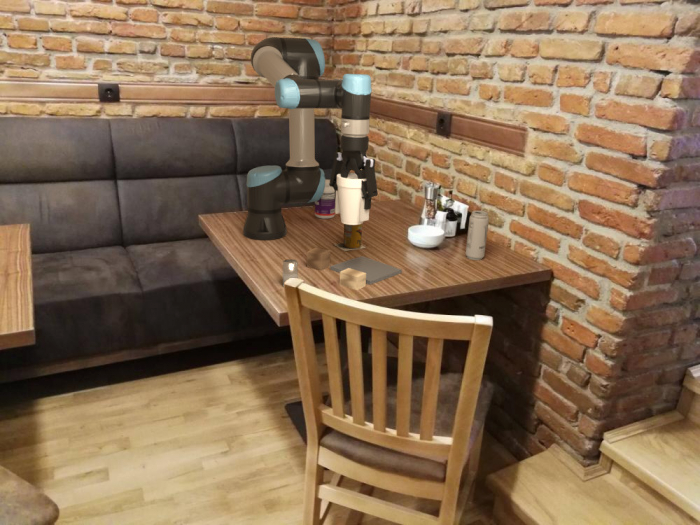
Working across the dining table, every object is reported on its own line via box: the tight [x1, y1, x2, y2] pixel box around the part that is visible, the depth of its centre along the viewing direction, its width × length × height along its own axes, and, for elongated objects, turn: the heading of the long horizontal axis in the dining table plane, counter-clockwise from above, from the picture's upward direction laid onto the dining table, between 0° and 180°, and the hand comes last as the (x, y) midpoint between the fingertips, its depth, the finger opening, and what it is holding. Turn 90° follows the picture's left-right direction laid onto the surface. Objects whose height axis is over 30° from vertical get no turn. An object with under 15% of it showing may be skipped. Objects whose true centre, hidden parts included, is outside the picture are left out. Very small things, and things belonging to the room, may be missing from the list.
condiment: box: [333, 223, 367, 252], centre depth 184 cm, size 7×8×12 cm
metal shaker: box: [282, 258, 299, 288], centre depth 151 cm, size 4×4×7 cm
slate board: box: [329, 255, 403, 286], centre depth 165 cm, size 16×14×1 cm
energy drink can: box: [465, 210, 490, 261], centre depth 177 cm, size 6×6×15 cm
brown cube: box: [306, 246, 331, 271], centre depth 166 cm, size 5×5×5 cm
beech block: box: [339, 268, 367, 291], centre depth 154 cm, size 6×4×4 cm, turn 53°
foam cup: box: [337, 172, 368, 225], centre depth 154 cm, size 10×9×13 cm
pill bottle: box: [314, 178, 336, 220], centre depth 217 cm, size 8×8×14 cm
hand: (351, 216), depth 156 cm, fingers closed on foam cup, 9 cm apart
